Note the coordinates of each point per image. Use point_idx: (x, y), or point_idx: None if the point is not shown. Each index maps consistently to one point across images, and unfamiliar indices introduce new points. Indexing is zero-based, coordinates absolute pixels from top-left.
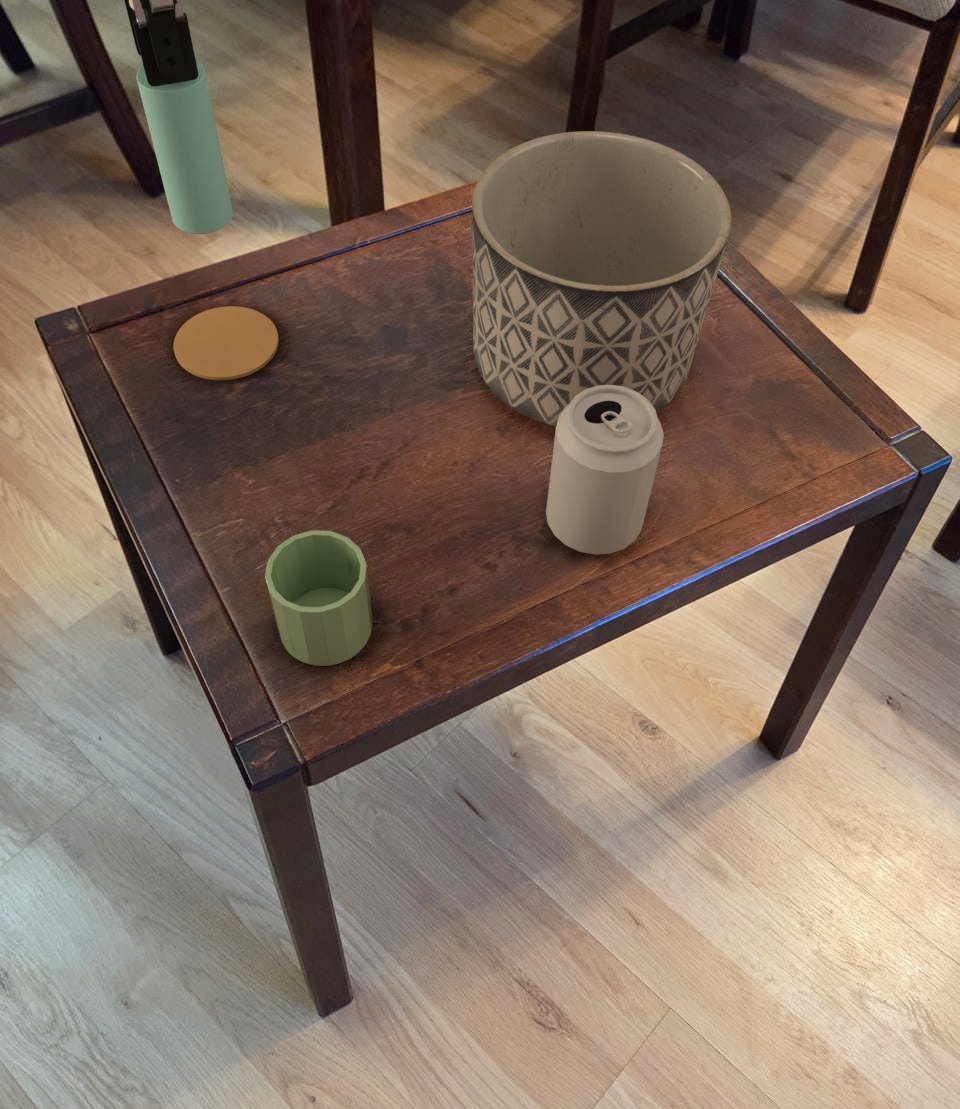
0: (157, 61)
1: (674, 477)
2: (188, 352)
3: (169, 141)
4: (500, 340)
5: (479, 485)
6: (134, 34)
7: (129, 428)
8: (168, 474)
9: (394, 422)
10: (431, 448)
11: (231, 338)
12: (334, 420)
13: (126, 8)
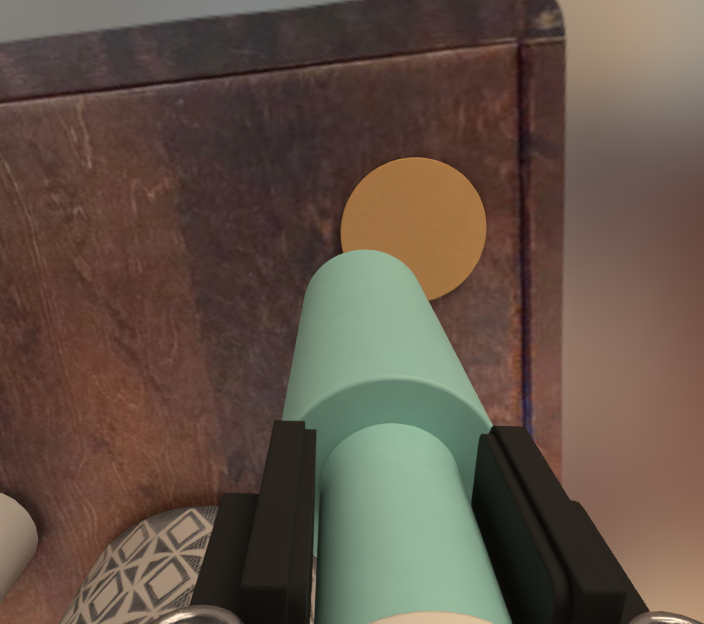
0: (217, 524)
1: (33, 614)
2: (410, 177)
3: (302, 351)
4: (133, 578)
5: (72, 440)
6: (515, 471)
7: (299, 58)
8: (195, 92)
9: (197, 387)
10: (143, 411)
11: (415, 241)
12: (223, 322)
13: (574, 535)
